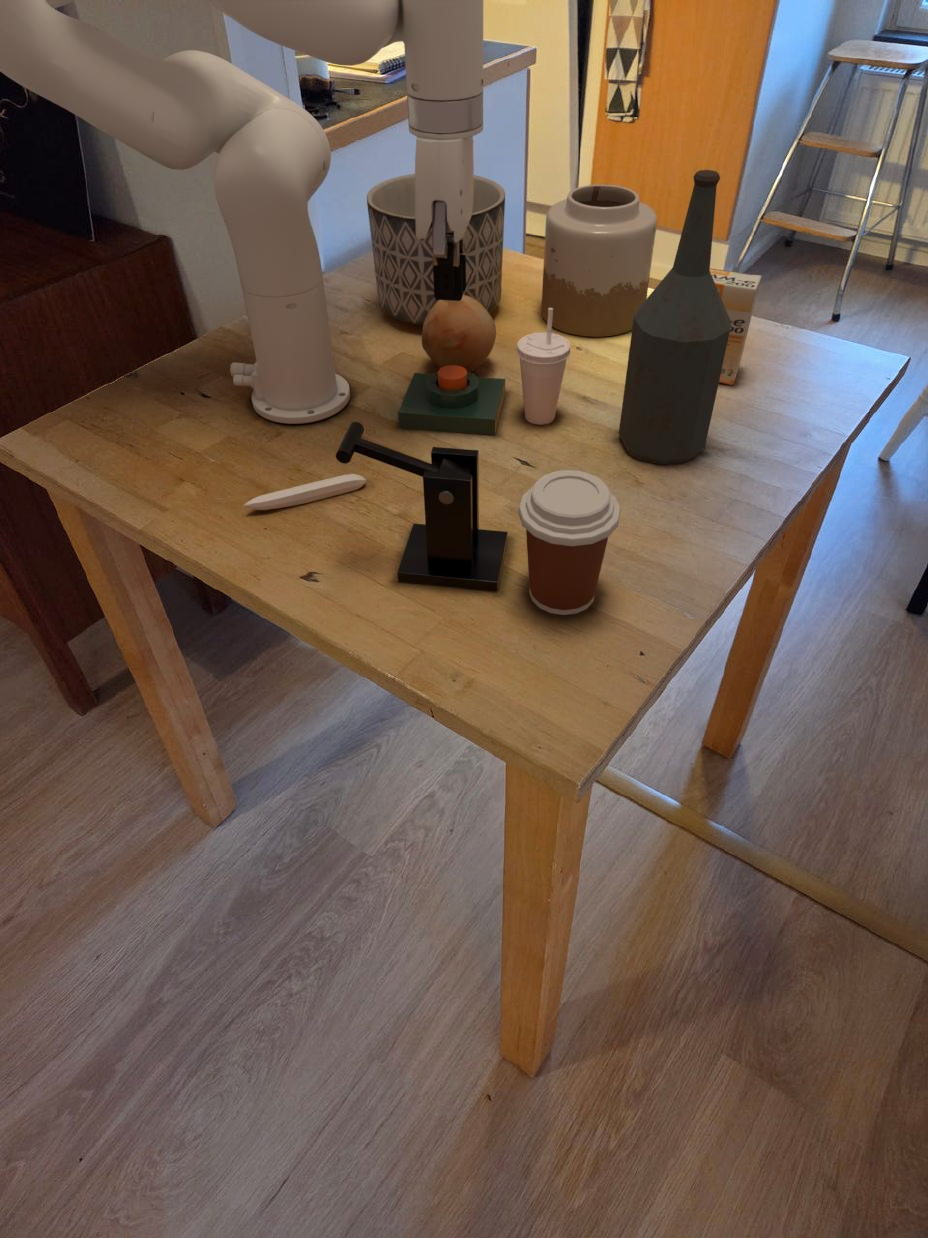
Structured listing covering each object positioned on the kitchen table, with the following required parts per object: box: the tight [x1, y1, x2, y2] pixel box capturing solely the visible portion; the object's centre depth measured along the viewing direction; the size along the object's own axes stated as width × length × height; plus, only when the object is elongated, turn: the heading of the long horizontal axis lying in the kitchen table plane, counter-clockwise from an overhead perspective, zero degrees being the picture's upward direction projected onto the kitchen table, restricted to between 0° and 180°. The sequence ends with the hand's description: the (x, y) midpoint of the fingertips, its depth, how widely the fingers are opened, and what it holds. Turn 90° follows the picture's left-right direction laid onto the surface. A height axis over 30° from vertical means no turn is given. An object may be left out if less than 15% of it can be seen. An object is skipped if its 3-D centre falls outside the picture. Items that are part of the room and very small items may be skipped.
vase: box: [541, 184, 658, 338], centre depth 121 cm, size 15×15×17 cm
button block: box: [397, 371, 506, 436], centre depth 106 cm, size 12×10×4 cm
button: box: [437, 365, 467, 391], centre depth 104 cm, size 4×4×2 cm
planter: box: [366, 173, 506, 326], centre depth 123 cm, size 19×19×16 cm
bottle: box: [618, 169, 731, 466], centre depth 91 cm, size 10×10×30 cm
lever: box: [335, 421, 471, 478], centre depth 79 cm, size 12×5×2 cm, turn 81°
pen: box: [242, 473, 367, 511], centre depth 94 cm, size 2×14×2 cm, turn 113°
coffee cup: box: [517, 469, 622, 616], centre depth 79 cm, size 9×9×12 cm
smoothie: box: [516, 308, 572, 425], centre depth 101 cm, size 6×6×14 cm
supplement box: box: [710, 267, 762, 386], centre depth 109 cm, size 8×5×13 cm, turn 68°
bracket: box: [396, 446, 509, 592], centre depth 82 cm, size 10×8×12 cm
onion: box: [421, 295, 497, 373], centre depth 112 cm, size 10×10×10 cm
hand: (450, 293), depth 97 cm, fingers closed
